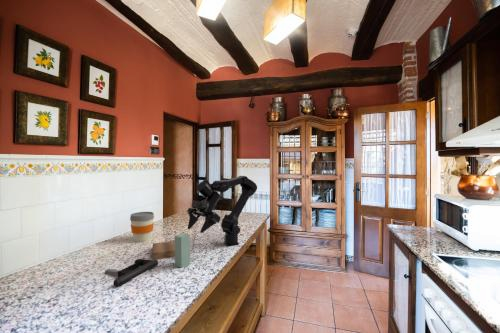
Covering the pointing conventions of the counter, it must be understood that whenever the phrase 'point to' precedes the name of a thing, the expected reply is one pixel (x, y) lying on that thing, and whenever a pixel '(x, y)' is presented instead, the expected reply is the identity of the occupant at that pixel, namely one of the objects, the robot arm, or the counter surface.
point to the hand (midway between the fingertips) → (194, 230)
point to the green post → (182, 250)
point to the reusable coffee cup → (142, 226)
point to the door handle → (132, 271)
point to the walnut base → (163, 250)
